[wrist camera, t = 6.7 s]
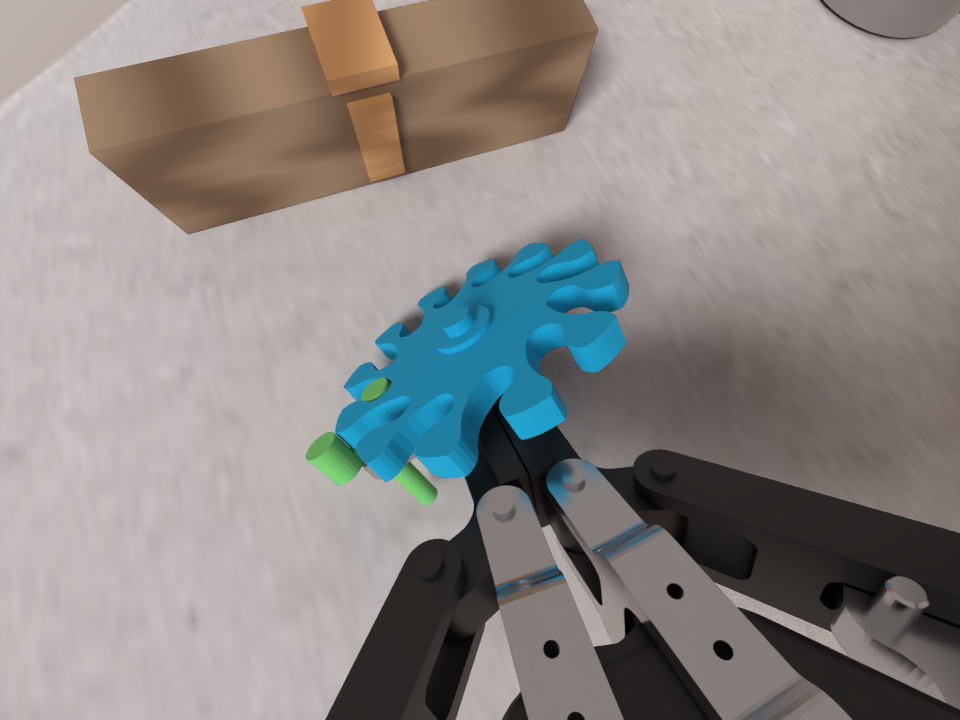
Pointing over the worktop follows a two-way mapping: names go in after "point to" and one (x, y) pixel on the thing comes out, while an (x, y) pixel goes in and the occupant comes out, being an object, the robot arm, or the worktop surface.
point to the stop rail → (335, 103)
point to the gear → (475, 366)
